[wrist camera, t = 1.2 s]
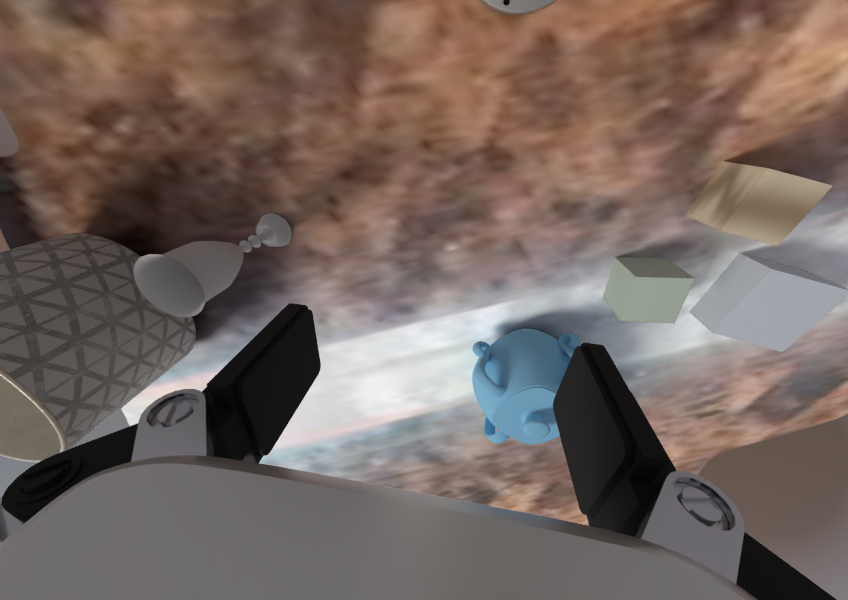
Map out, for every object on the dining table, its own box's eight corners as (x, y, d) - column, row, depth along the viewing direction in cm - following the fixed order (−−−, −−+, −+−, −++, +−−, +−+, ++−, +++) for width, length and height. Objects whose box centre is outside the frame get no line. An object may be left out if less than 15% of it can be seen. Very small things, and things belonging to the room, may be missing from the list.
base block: (737, 252, 37) (772, 269, 33) (808, 271, 37) (852, 291, 33) (687, 311, 42) (712, 332, 37) (750, 328, 42) (782, 352, 37)
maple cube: (722, 161, 33) (768, 168, 27) (776, 175, 32) (832, 185, 27) (685, 215, 36) (720, 230, 31) (734, 228, 36) (777, 246, 31)
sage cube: (614, 256, 39) (635, 276, 34) (665, 257, 38) (694, 278, 33) (602, 297, 42) (620, 320, 37) (649, 298, 41) (674, 323, 36)
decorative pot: (567, 396, 52) (594, 474, 41) (474, 393, 55) (474, 465, 44) (582, 318, 44) (621, 387, 33) (472, 319, 47) (472, 383, 36)
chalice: (279, 198, 42) (165, 241, 26) (307, 241, 44) (219, 304, 29) (242, 218, 44) (118, 270, 29) (271, 259, 47) (172, 325, 31)
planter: (168, 220, 46) (-74, 298, 26) (234, 349, 58) (106, 470, 38) (42, 229, 50) (-251, 301, 30) (129, 347, 63) (-38, 455, 42)
